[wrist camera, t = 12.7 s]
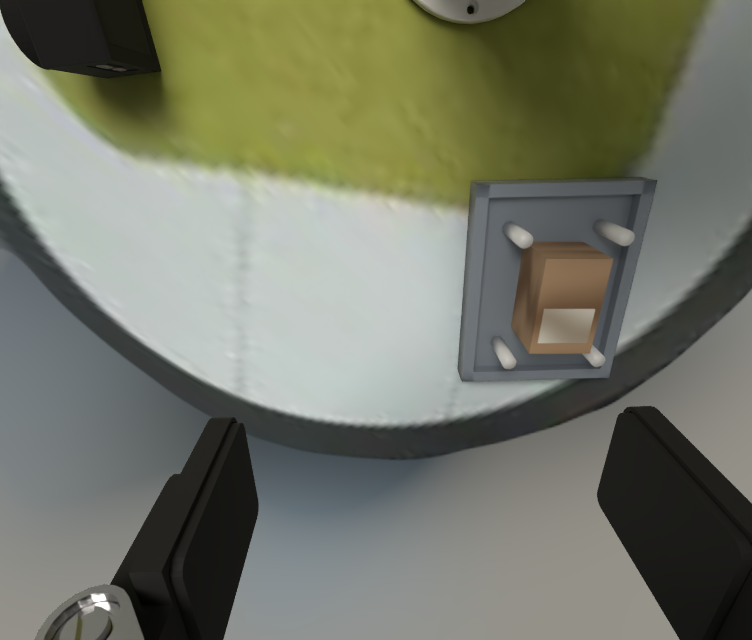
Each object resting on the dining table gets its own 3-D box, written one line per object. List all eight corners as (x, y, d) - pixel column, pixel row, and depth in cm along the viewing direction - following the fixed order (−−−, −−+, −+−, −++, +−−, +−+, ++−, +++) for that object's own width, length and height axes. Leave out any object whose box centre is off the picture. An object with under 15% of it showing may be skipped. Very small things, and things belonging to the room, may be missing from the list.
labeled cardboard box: (523, 241, 36) (546, 259, 32) (582, 241, 36) (614, 259, 32) (510, 326, 40) (529, 354, 35) (564, 326, 40) (590, 354, 35)
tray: (471, 180, 35) (486, 190, 31) (640, 177, 35) (683, 186, 31) (457, 369, 43) (468, 400, 38) (597, 365, 43) (625, 395, 38)
